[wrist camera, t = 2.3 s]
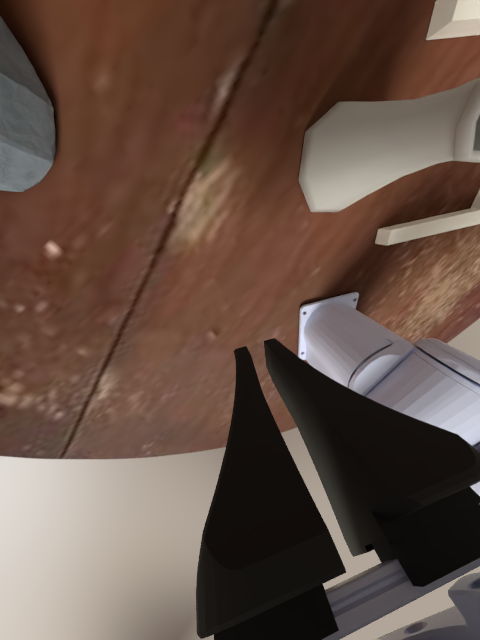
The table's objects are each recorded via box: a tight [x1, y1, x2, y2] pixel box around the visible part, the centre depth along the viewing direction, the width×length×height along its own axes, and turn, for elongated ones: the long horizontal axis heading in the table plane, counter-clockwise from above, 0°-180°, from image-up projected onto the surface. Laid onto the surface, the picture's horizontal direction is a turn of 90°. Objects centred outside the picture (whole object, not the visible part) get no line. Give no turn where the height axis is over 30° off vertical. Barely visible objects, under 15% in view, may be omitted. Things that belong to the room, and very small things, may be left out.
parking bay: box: [375, 0, 480, 246], centre depth 16 cm, size 15×14×2 cm
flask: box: [298, 77, 480, 212], centre depth 11 cm, size 7×7×10 cm
